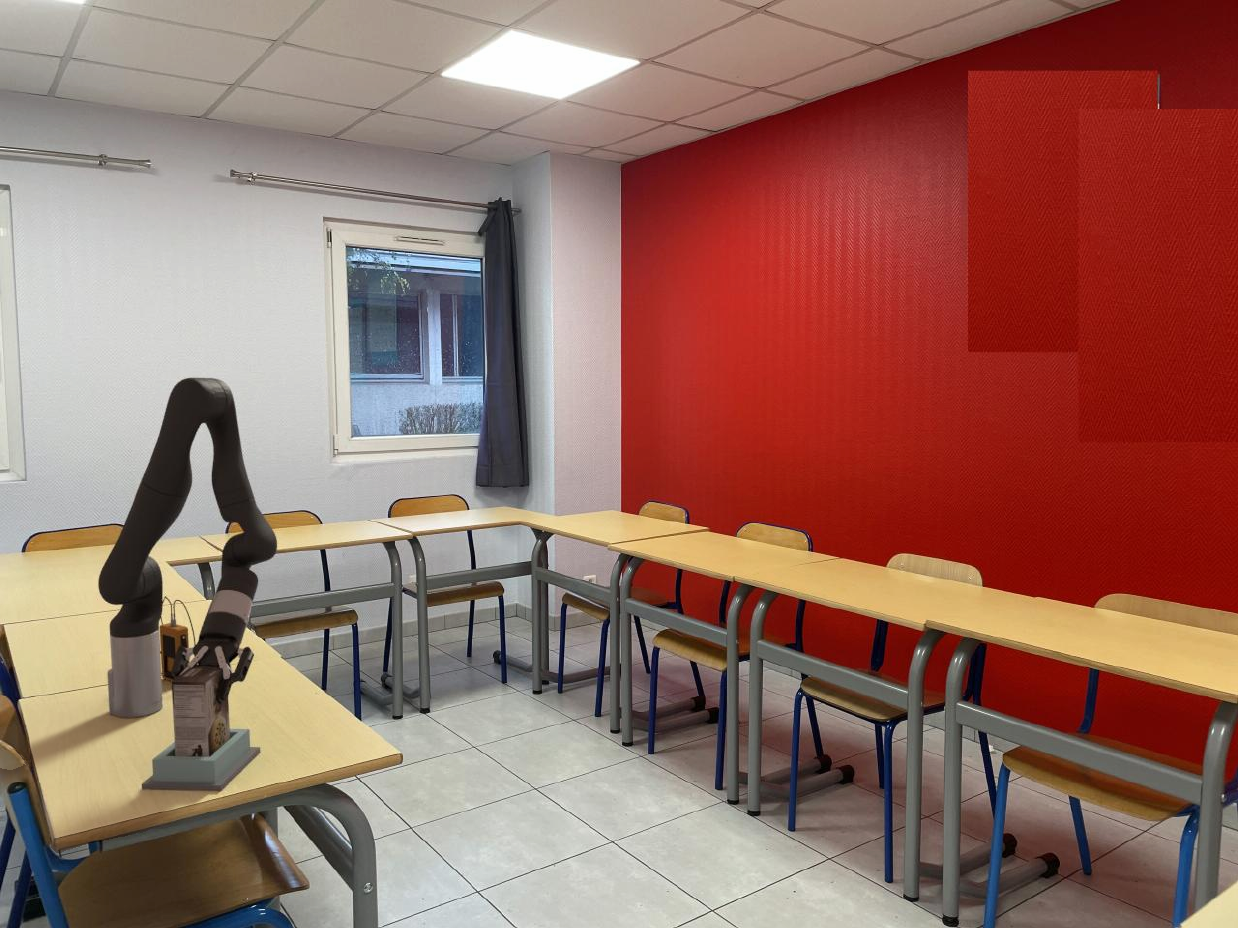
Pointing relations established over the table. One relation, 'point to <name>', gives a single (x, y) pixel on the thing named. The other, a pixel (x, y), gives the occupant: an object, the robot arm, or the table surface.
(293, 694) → the table surface
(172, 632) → the multimeter
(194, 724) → the coffee box
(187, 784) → the box
